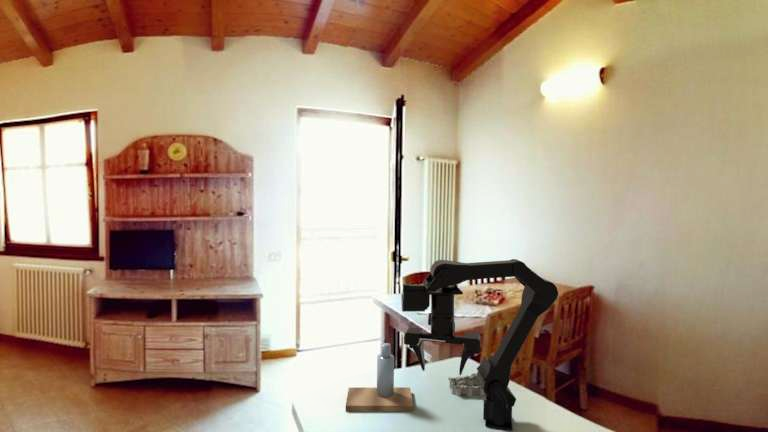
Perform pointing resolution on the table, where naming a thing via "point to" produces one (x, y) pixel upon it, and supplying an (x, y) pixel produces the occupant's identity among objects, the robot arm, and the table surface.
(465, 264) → the robot arm
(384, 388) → the slate-blue bottle
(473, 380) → the egg carton
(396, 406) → the walnut board
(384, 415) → the table surface
